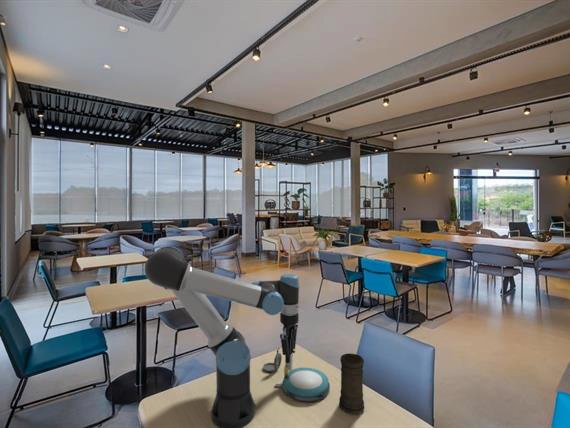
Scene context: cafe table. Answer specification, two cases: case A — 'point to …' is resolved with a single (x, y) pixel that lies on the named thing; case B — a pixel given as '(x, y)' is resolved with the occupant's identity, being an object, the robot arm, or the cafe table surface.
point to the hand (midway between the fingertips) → (288, 368)
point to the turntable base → (303, 399)
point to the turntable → (305, 381)
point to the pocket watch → (273, 366)
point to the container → (352, 384)
